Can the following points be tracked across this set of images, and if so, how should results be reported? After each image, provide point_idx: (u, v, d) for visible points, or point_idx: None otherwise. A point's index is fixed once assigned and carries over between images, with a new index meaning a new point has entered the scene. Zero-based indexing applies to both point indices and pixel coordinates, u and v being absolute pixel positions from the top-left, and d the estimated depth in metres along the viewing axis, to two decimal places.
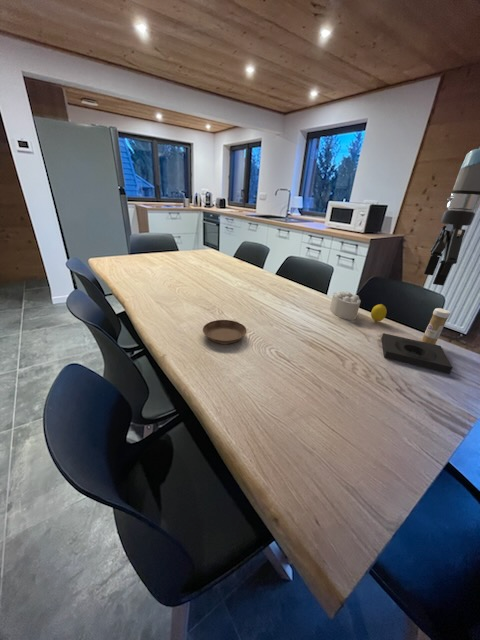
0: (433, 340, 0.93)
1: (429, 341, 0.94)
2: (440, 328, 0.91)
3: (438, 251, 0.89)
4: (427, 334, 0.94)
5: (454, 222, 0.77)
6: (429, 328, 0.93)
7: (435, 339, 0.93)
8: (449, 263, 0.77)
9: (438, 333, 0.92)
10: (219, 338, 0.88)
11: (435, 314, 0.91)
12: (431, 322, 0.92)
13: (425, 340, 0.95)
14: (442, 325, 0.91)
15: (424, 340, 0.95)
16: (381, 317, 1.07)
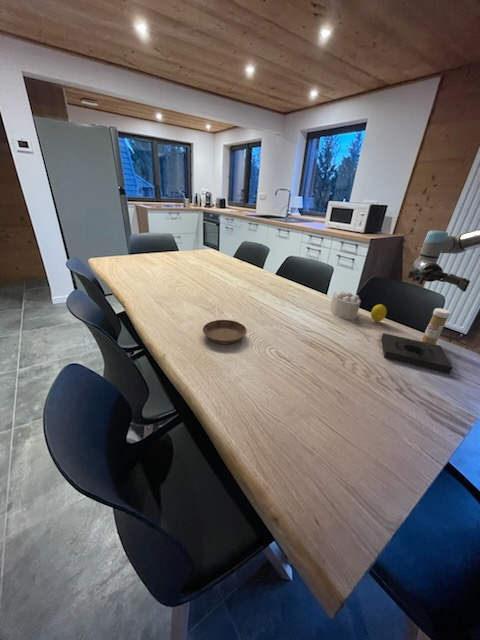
0: (433, 340, 0.93)
1: (429, 341, 0.94)
2: (440, 328, 0.91)
3: (455, 281, 1.00)
4: (428, 334, 0.94)
5: None
6: (429, 328, 0.93)
7: (435, 339, 0.93)
8: (411, 275, 1.04)
9: (438, 333, 0.92)
10: (219, 338, 0.88)
11: (435, 314, 0.91)
12: (431, 322, 0.92)
13: (425, 340, 0.95)
14: (442, 325, 0.91)
15: (424, 340, 0.95)
16: (381, 317, 1.07)
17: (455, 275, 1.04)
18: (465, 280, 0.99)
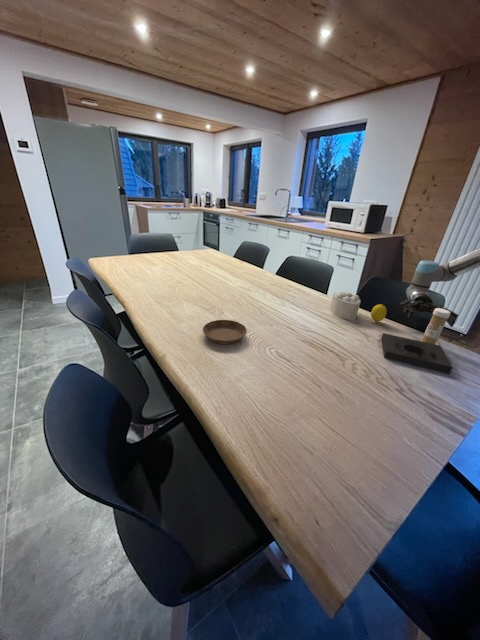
0: (433, 340, 0.93)
1: (429, 341, 0.94)
2: (440, 328, 0.91)
3: None
4: (428, 334, 0.94)
5: None
6: (429, 328, 0.93)
7: (435, 339, 0.93)
8: (401, 307, 1.07)
9: (438, 333, 0.92)
10: (219, 338, 0.88)
11: (435, 314, 0.91)
12: (431, 322, 0.92)
13: (425, 340, 0.95)
14: (442, 325, 0.91)
15: (424, 340, 0.95)
16: (381, 317, 1.07)
17: (444, 307, 1.07)
18: (453, 314, 1.02)
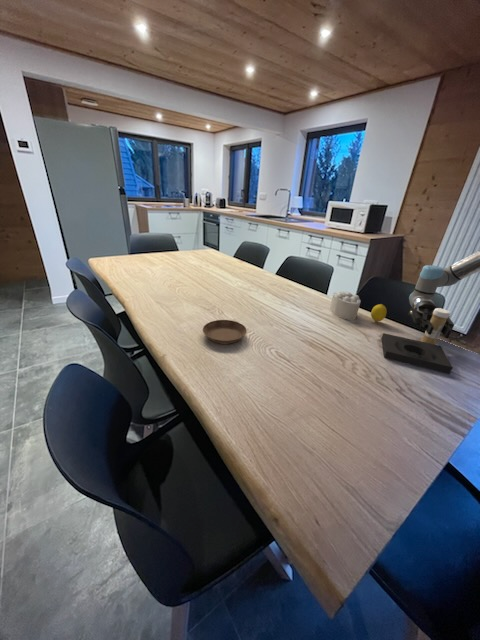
0: (433, 340, 0.93)
1: (429, 341, 0.94)
2: (440, 328, 0.91)
3: None
4: (427, 334, 0.94)
5: None
6: None
7: (435, 339, 0.93)
8: (418, 321, 0.96)
9: (438, 333, 0.92)
10: (219, 338, 0.88)
11: (435, 314, 0.91)
12: (431, 322, 0.92)
13: (425, 340, 0.95)
14: (442, 325, 0.91)
15: (424, 340, 0.95)
16: (381, 317, 1.07)
17: None
18: (449, 323, 0.94)
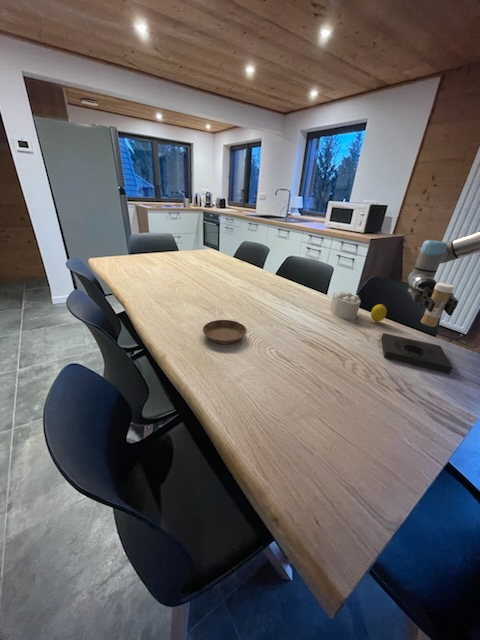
0: (434, 319, 0.82)
1: (430, 320, 0.83)
2: (442, 305, 0.80)
3: None
4: (428, 313, 0.83)
5: None
6: None
7: (437, 318, 0.82)
8: (418, 298, 0.85)
9: (440, 311, 0.81)
10: (219, 338, 0.88)
11: (437, 289, 0.80)
12: (432, 298, 0.82)
13: (425, 320, 0.84)
14: (444, 301, 0.80)
15: (424, 320, 0.84)
16: (381, 317, 1.07)
17: (452, 295, 0.87)
18: (453, 300, 0.83)
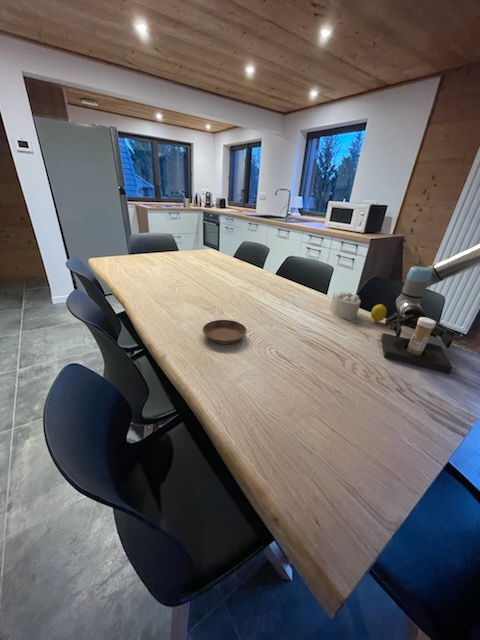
0: (417, 352, 0.84)
1: (413, 353, 0.85)
2: (425, 339, 0.82)
3: (439, 332, 0.86)
4: (411, 346, 0.85)
5: None
6: (413, 339, 0.84)
7: (420, 351, 0.84)
8: (388, 323, 0.90)
9: (423, 345, 0.83)
10: (219, 338, 0.88)
11: (419, 324, 0.82)
12: (415, 333, 0.84)
13: None
14: (426, 336, 0.82)
15: None
16: (381, 317, 1.07)
17: (439, 323, 0.91)
18: None
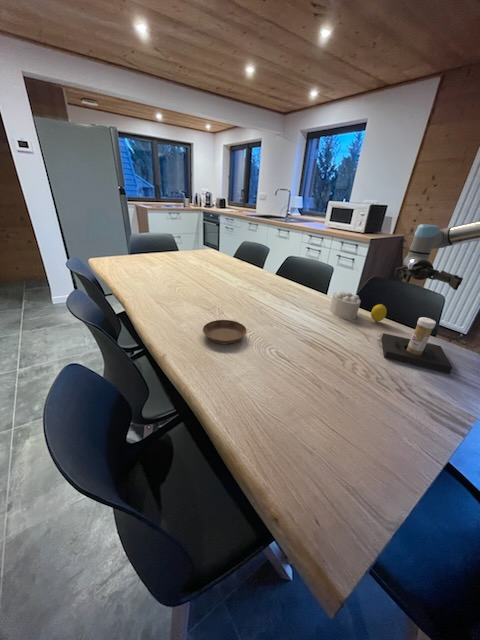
0: (417, 352, 0.84)
1: (413, 353, 0.85)
2: (425, 339, 0.82)
3: (447, 278, 0.91)
4: (411, 346, 0.85)
5: None
6: (413, 339, 0.84)
7: (420, 351, 0.84)
8: (398, 272, 0.95)
9: (423, 345, 0.83)
10: (219, 338, 0.88)
11: (419, 324, 0.82)
12: (415, 333, 0.84)
13: None
14: (426, 336, 0.82)
15: None
16: (381, 317, 1.07)
17: None
18: None
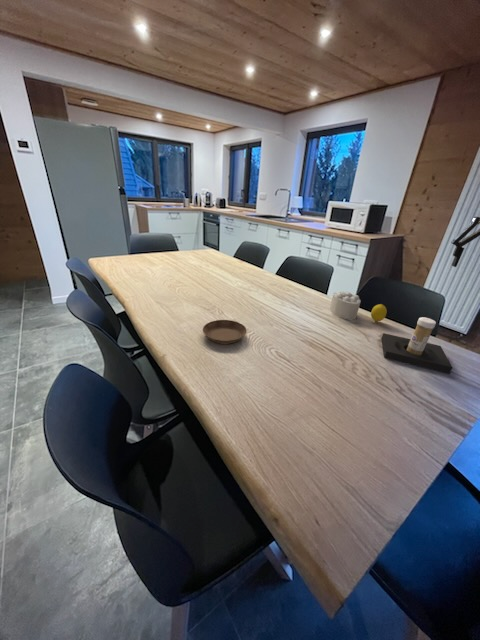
0: (417, 352, 0.84)
1: (413, 353, 0.85)
2: (425, 339, 0.82)
3: None
4: (411, 346, 0.85)
5: None
6: (413, 339, 0.84)
7: (420, 351, 0.84)
8: (454, 244, 0.91)
9: (423, 345, 0.83)
10: (219, 338, 0.88)
11: (419, 324, 0.82)
12: (415, 333, 0.84)
13: None
14: (426, 336, 0.82)
15: None
16: (381, 317, 1.07)
17: None
18: None
